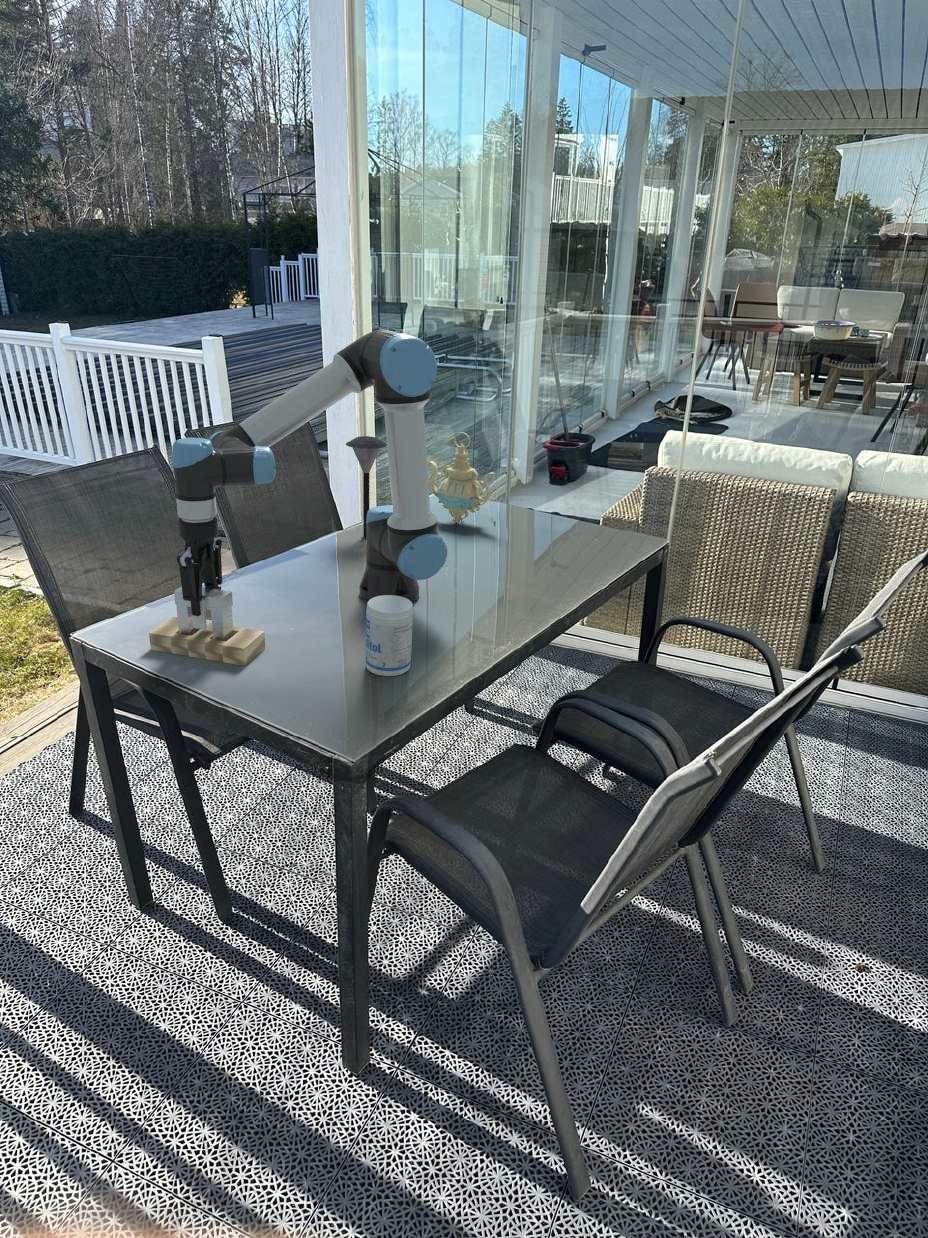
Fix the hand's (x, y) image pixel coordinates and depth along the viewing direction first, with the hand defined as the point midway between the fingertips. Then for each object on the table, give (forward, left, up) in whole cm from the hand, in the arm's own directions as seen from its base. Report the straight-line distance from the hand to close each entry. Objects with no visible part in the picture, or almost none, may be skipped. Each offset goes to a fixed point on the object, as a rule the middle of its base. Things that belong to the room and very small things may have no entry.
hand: (205, 623), depth 173 cm
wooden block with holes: (0, 0, -6) cm, 6 cm away
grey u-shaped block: (0, 0, -3) cm, 3 cm away
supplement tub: (-39, -5, -6) cm, 40 cm away
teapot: (-27, -108, -6) cm, 112 cm away
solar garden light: (-4, -85, -6) cm, 85 cm away
